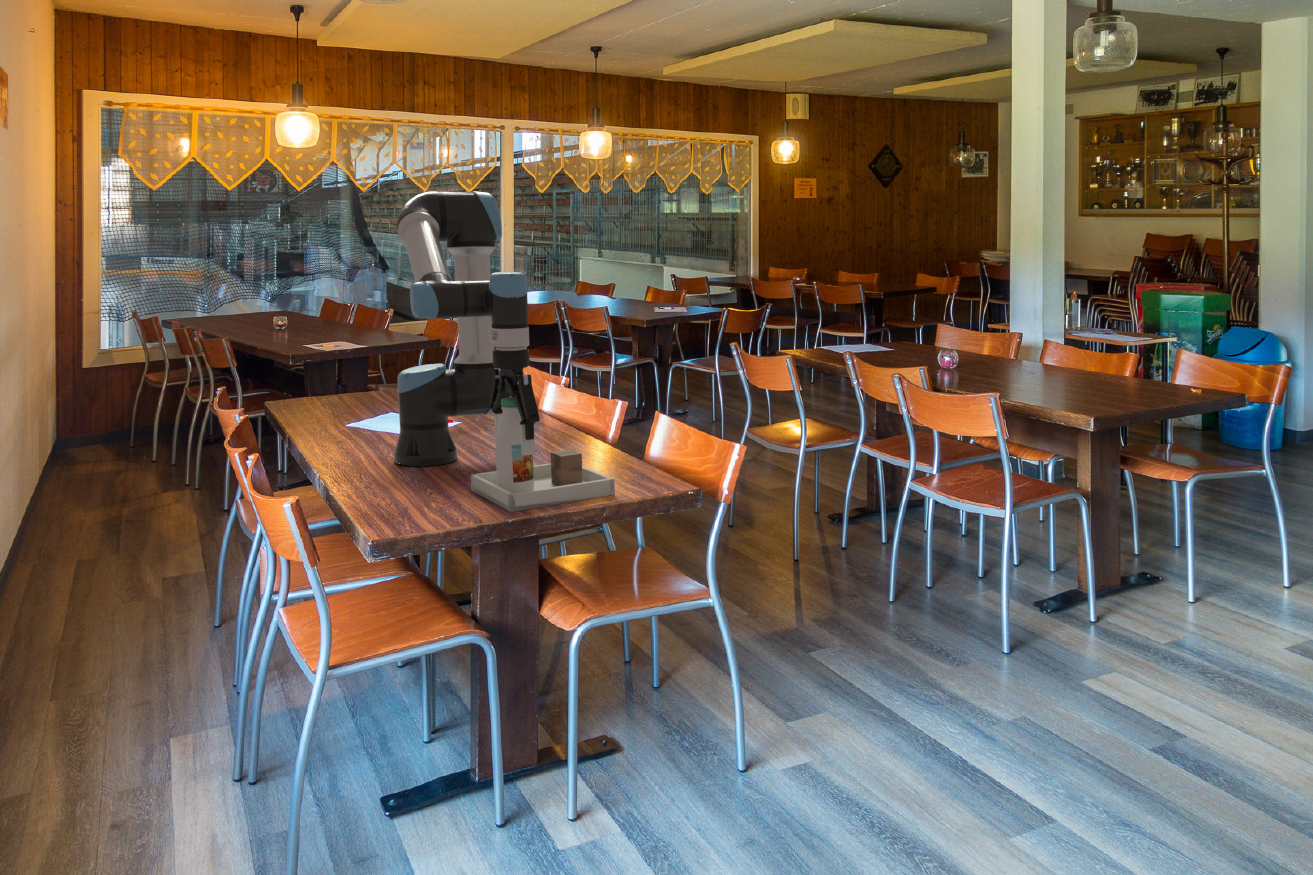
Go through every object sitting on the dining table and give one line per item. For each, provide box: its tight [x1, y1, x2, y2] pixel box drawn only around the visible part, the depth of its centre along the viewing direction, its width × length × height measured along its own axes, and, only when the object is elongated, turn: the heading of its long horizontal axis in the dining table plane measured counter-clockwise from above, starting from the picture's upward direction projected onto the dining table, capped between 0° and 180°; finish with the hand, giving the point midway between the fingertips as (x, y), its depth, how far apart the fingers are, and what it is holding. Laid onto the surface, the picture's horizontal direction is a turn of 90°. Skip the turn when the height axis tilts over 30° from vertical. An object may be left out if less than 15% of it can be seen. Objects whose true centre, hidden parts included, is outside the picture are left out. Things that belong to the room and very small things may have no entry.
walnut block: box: [550, 449, 583, 486], centre depth 218 cm, size 5×5×7 cm
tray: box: [470, 462, 616, 513], centre depth 216 cm, size 21×24×4 cm
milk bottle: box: [495, 396, 534, 493], centre depth 211 cm, size 8×8×20 cm
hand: (514, 449), depth 211 cm, fingers open, 13 cm apart
